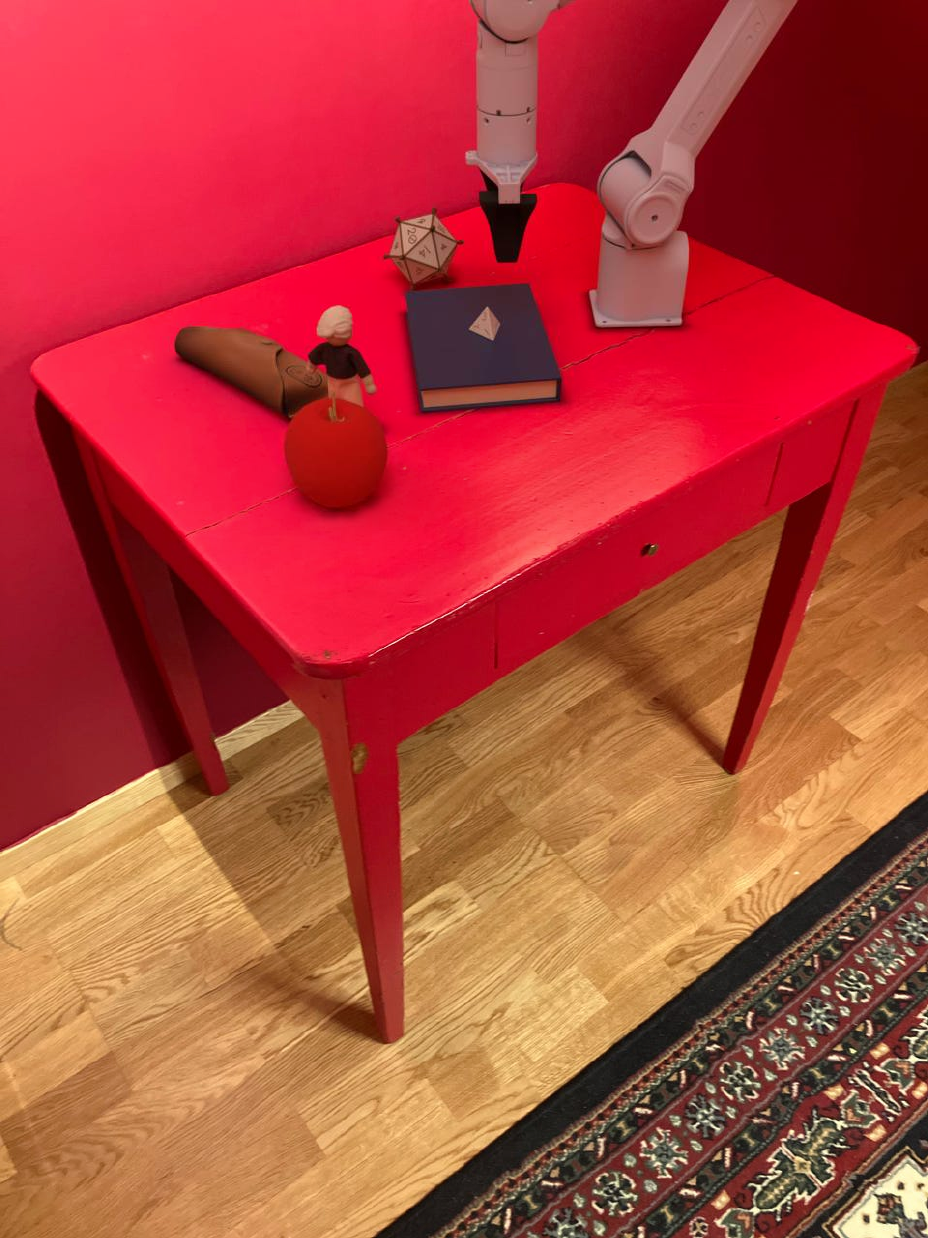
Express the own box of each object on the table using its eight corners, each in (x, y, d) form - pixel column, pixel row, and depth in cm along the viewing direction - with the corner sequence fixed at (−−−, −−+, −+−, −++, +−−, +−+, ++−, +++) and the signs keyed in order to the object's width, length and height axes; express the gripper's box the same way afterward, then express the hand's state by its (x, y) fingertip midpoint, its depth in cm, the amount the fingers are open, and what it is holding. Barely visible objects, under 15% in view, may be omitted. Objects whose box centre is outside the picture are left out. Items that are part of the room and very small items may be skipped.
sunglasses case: (348, 383, 104) (316, 346, 98) (308, 439, 103) (273, 405, 98) (237, 326, 113) (202, 289, 107) (199, 377, 112) (162, 342, 107)
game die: (439, 315, 122) (462, 272, 113) (370, 292, 121) (388, 246, 111) (453, 251, 125) (477, 204, 115) (387, 227, 123) (405, 177, 113)
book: (528, 305, 116) (529, 282, 114) (560, 401, 102) (561, 377, 100) (405, 314, 115) (404, 291, 113) (421, 412, 101) (419, 388, 99)
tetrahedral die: (509, 339, 107) (516, 311, 106) (492, 341, 105) (499, 312, 104) (485, 328, 109) (491, 300, 107) (468, 329, 107) (474, 301, 105)
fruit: (412, 490, 92) (405, 395, 85) (334, 537, 88) (321, 440, 81) (346, 449, 97) (335, 355, 90) (269, 491, 93) (251, 396, 86)
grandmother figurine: (392, 423, 100) (382, 303, 91) (377, 445, 97) (365, 324, 88) (320, 410, 102) (304, 291, 93) (304, 431, 99) (285, 311, 90)
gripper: (463, 81, 102) (466, 215, 111) (465, 134, 92) (468, 277, 101) (534, 79, 102) (530, 214, 111) (544, 132, 92) (539, 276, 101)
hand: (505, 244), depth 106 cm, fingers open, 7 cm apart
